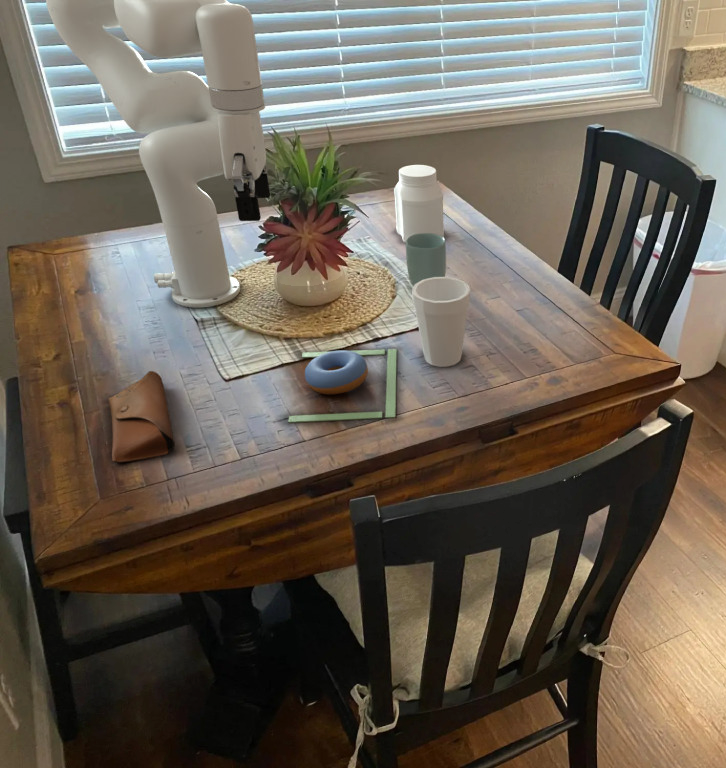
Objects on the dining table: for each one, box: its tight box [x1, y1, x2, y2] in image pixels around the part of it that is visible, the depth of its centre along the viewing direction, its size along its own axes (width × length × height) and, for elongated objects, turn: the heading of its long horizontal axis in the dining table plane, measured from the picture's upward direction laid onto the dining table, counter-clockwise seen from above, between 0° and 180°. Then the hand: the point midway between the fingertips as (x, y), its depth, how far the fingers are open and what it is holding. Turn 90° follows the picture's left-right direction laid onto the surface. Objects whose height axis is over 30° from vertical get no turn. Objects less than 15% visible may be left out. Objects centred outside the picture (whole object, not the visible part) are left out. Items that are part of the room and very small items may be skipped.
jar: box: [393, 164, 445, 244], centre depth 170 cm, size 12×10×15 cm
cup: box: [405, 233, 447, 288], centre depth 149 cm, size 8×8×10 cm
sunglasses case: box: [108, 370, 176, 464], centre depth 111 cm, size 18×7×7 cm, turn 27°
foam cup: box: [411, 276, 471, 368], centre depth 126 cm, size 10×9×13 cm
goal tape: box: [287, 348, 398, 424], centre depth 122 cm, size 16×20×1 cm
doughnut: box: [304, 349, 369, 395], centre depth 121 cm, size 10×10×5 cm
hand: (255, 208), depth 121 cm, fingers open, 9 cm apart
